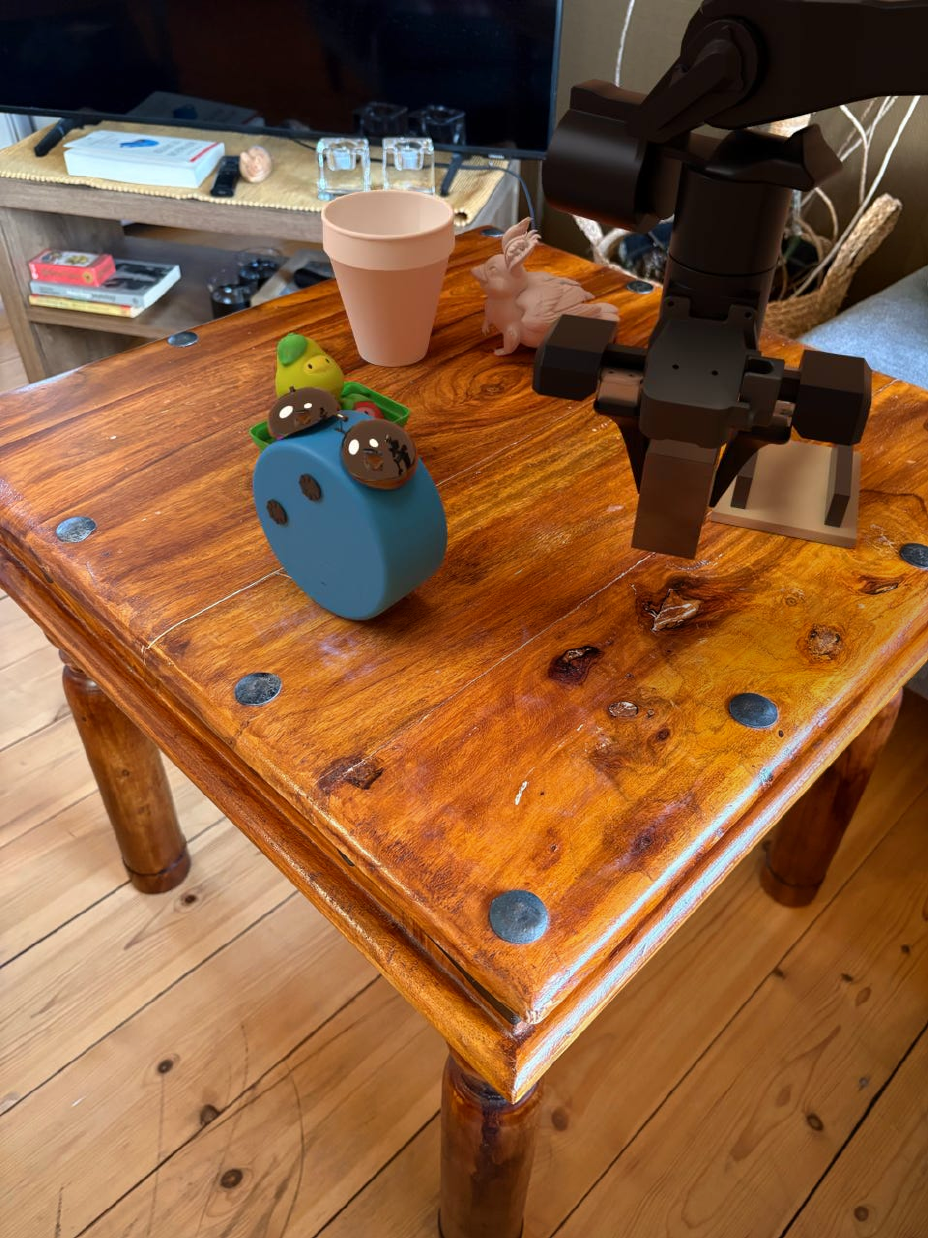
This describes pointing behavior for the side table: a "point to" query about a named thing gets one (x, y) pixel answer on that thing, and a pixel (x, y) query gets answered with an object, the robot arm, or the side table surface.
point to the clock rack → (797, 493)
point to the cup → (389, 268)
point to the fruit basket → (323, 385)
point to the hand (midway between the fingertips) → (676, 497)
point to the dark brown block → (674, 497)
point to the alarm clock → (347, 505)
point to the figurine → (529, 294)
